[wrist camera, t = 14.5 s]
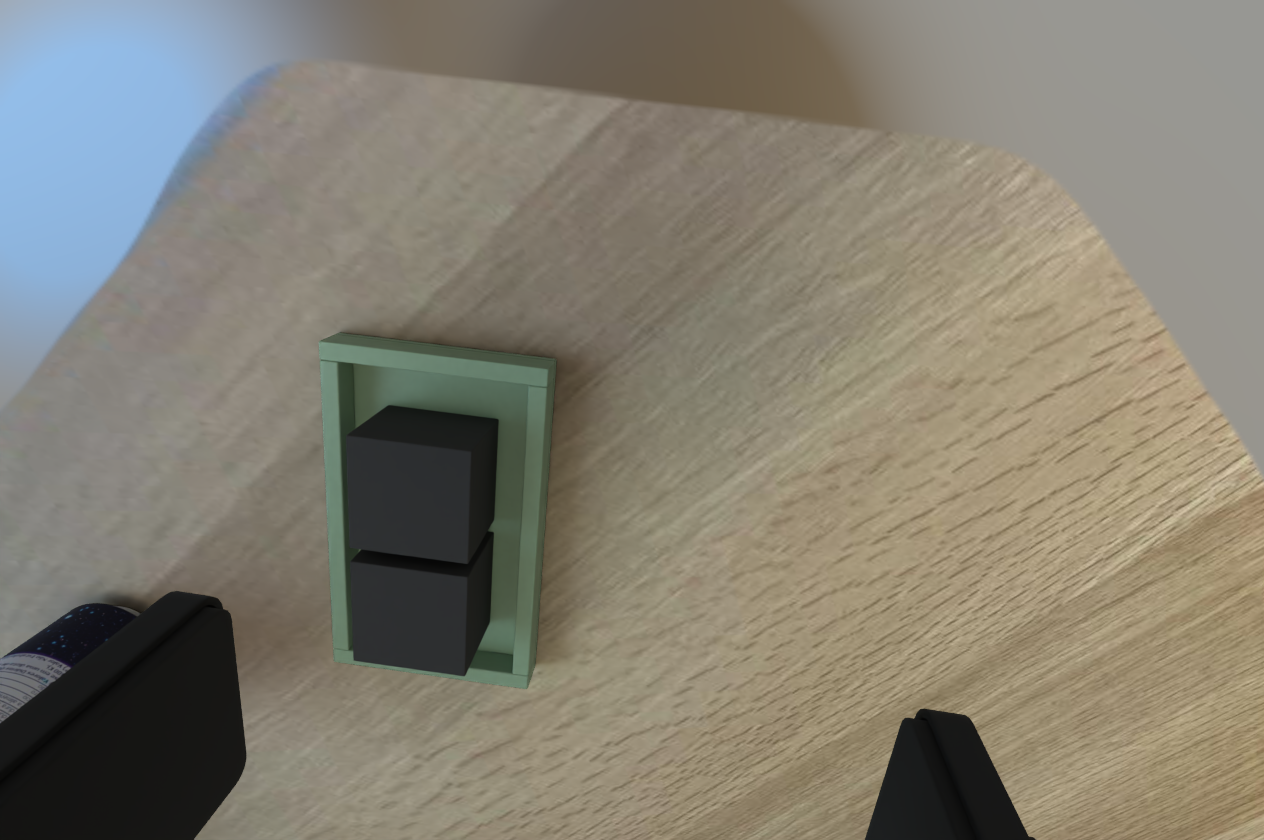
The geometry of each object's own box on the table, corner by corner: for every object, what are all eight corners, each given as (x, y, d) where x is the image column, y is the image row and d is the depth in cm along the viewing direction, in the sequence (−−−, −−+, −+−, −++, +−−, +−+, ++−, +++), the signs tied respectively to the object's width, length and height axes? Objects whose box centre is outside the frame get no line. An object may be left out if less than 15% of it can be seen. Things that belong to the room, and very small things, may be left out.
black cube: (388, 404, 30) (345, 434, 27) (499, 418, 30) (471, 451, 26) (389, 506, 32) (348, 548, 28) (494, 520, 32) (468, 564, 28)
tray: (339, 332, 30) (318, 340, 28) (556, 358, 30) (548, 369, 28) (350, 639, 35) (333, 662, 33) (535, 665, 35) (527, 689, 33)
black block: (389, 517, 32) (349, 561, 28) (494, 531, 32) (468, 577, 28) (390, 608, 34) (352, 661, 30) (490, 622, 34) (465, 677, 30)
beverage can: (58, 643, 37) (-224, 845, 25) (99, 573, 35) (-182, 756, 24) (151, 701, 38) (-82, 923, 26) (196, 636, 36) (-32, 843, 25)
